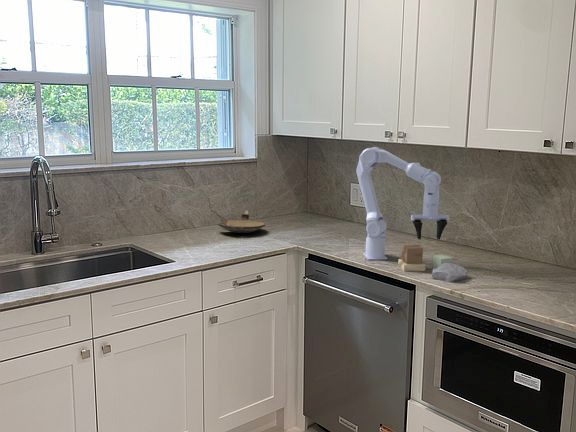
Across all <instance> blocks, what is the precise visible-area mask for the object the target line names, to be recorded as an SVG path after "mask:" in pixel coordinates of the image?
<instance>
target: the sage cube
mask: <svg viewBox="0 0 576 432" xmlns="http://www.w3.org/2000/svg"><path fill="white" fill-rule="evenodd" d="M443 263H452V264H453V257H451V256H449V255H446V254H437V255H433V256H432V270H433V269H434V268H435V269H436V268H438V267H439V266H440V265H441V264H443Z"/></svg>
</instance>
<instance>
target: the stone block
mask: <svg viewBox="0 0 576 432" xmlns="http://www.w3.org/2000/svg"><path fill="white" fill-rule="evenodd" d="M467 275H468V269H466V268H465V267H463V266H460V265H458V264H455V263H453V262H452V263H443V264H441V265H440V266H439V267H438V268H436V269H435V268H434V269H433V268H432V274H431V276H432V279H434V280H438V281H444V282H449V283H454V282H457V281H461V280H465V279H466V277H467Z"/></svg>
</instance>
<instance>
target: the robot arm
mask: <svg viewBox="0 0 576 432" xmlns="http://www.w3.org/2000/svg"><path fill="white" fill-rule="evenodd" d="M378 163H379V164H380V163H387V164H390V165H392V166H393V167H396V168H398V169H399V170H402V171H404V172H405V175H406V176H407V177H408V178H410V179H413V180H414V181H416V182H418V183H420V184H423V185H424V192H423V203H422V214H411V215H410V221H412V223H413V225H414V229H415V233H416V239H418V240H421V239H422V227H423V222H422V221H436V239H437V240H441V238H442V234H443V231H444V230H445V228H446V226H447V225H448V222H449V221H450V215H448V214H439V206H440V204H439V202H440V184H441V182H442V177H441V175H440V173H438V172H437V171H432V169H430V168H426V167H424V166H422V165H421V163H419V162H410V163H409V162H407V161H406V160H403V159H401V158H400V157H398V156H396V155H394V154H393V153H391V152H390V151H387V150H385V149H383V148H382V149H381V148H380V147H378V146H373V147H368V148H364V149H363V151H362V152H361V153H360V154H359V157H358V162H357V165H356V170H355V171H356V172H355V173H356V175H357V179H358V183H359V188H360V191H361V196H362V199H363V203H364V207H365V212H366V218H365V220H366V227H365V228H366V229H365V230H366V232H367V236H366V238H365V250H364V251H365V252H363V253H362V254H363V255H364V257H365V258H366V259H367V260H376V261H377V260H382V261H383V260H388V257H387V256H386V253H385V252H386V236H387V235H386V233H385V232H386V230H387V229H388V222H387V221H386V219H385V218H384V215H383V214H382V211H381V210H380V207H379V202H378V199H377V195H376V190H375V187H374V183H373V179H372V176H371V172H372V171H373V168H374V167H375V166H376V165H377V164H378Z"/></svg>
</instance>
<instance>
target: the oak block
mask: <svg viewBox="0 0 576 432" xmlns="http://www.w3.org/2000/svg"><path fill="white" fill-rule="evenodd" d="M397 263H398V264H397V265H398V267H399V268H400V269H401V270H402V271H404V272H425V271H426V263H425V262H423V261H422V264H406V263H405V262H403V261H402V260H401V258H398V260H397Z"/></svg>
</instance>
